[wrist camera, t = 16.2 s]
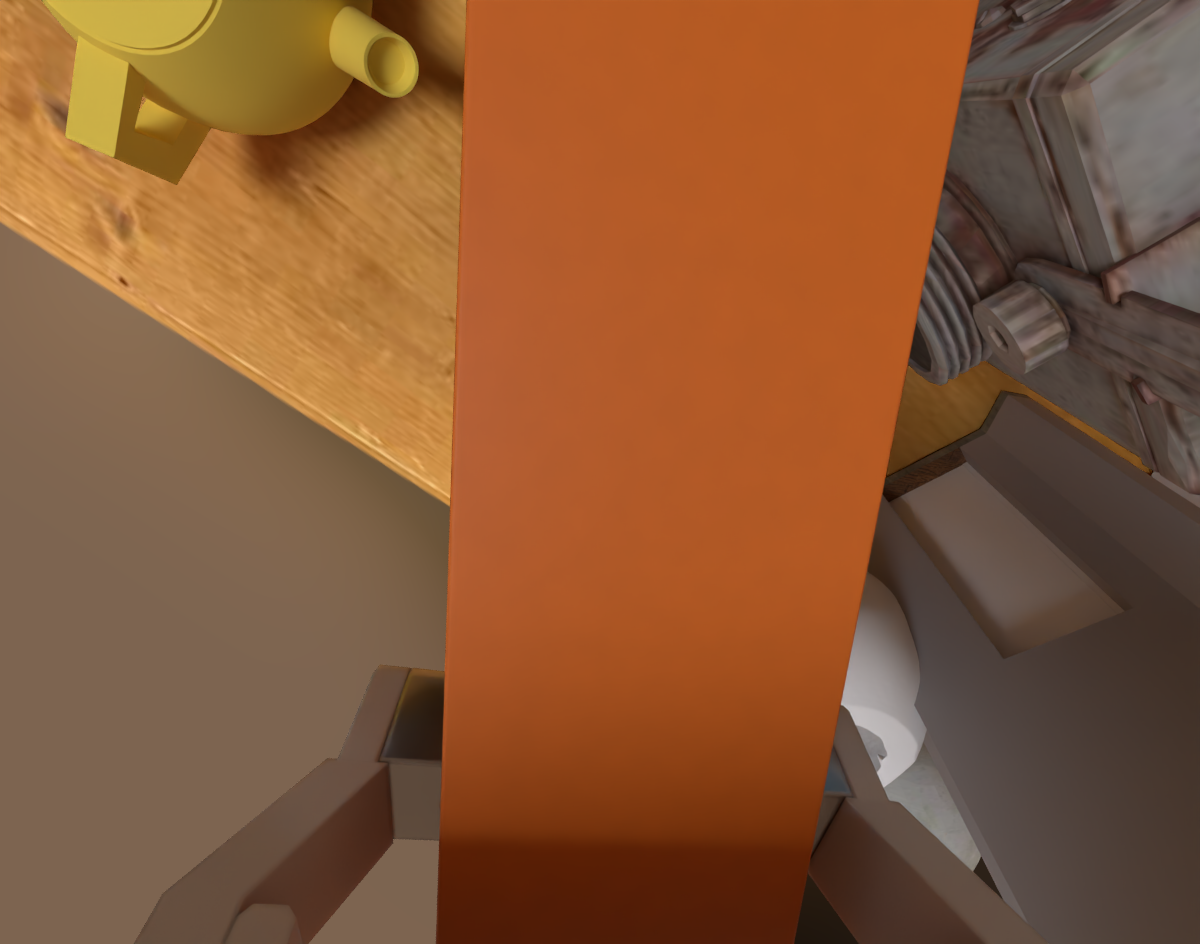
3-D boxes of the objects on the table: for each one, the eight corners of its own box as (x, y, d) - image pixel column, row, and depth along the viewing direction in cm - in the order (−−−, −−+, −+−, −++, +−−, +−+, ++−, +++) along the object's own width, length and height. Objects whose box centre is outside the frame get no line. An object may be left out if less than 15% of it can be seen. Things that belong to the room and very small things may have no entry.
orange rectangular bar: (686, 1087, 11) (726, 1290, 9) (447, 1105, 11) (423, 1327, 8) (853, 26, 8) (1005, -115, 5) (494, -32, 7) (472, -225, 5)
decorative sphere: (925, 922, 47) (774, 946, 42) (839, 734, 58) (710, 733, 52) (1088, 860, 38) (926, 879, 33) (951, 652, 49) (811, 639, 43)
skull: (542, 492, 40) (618, 750, 23) (792, 440, 43) (1023, 636, 26) (567, 632, 47) (640, 911, 30) (782, 578, 50) (961, 807, 33)
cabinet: (886, 635, 47) (1174, 1166, 23) (770, 618, 47) (941, 1148, 22) (1025, 394, 37) (1808, 903, 13) (878, 368, 36) (1412, 854, 12)
